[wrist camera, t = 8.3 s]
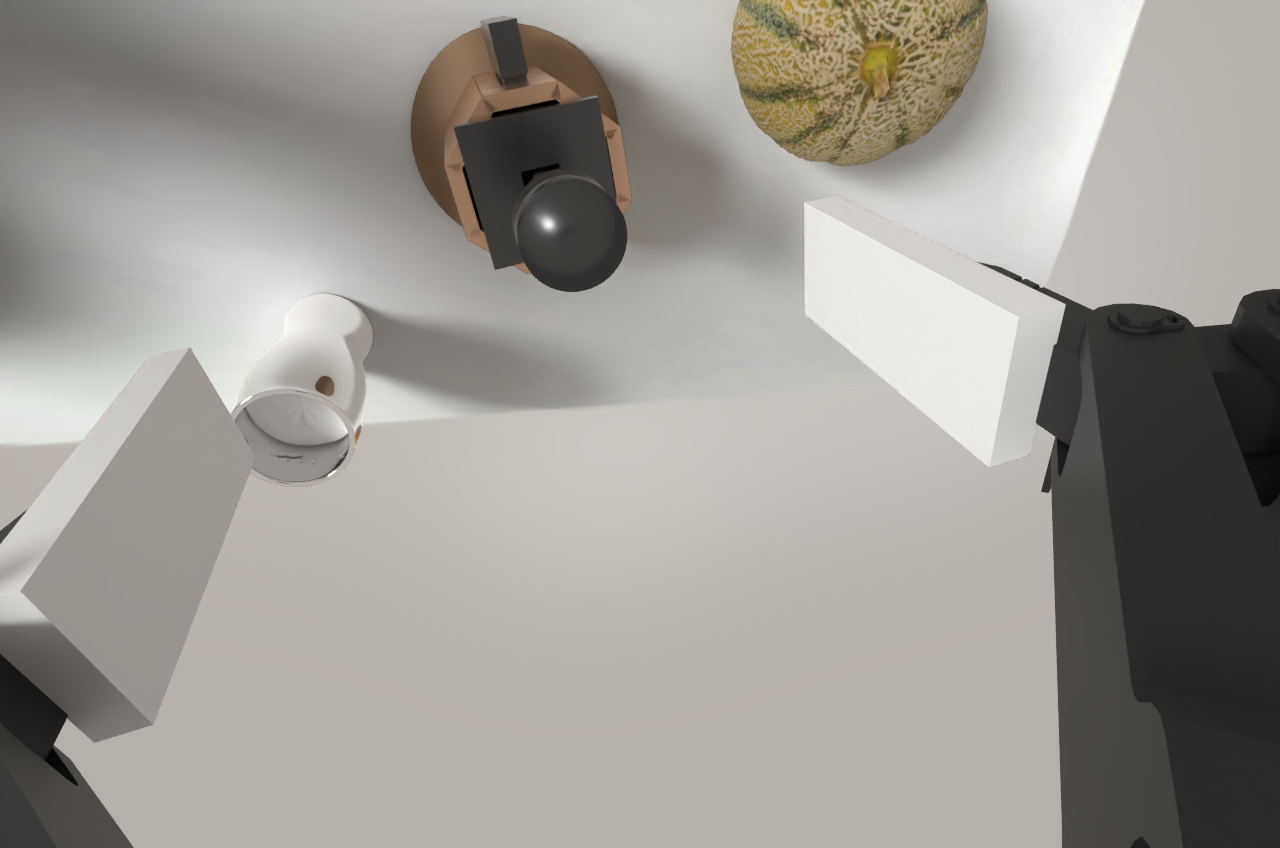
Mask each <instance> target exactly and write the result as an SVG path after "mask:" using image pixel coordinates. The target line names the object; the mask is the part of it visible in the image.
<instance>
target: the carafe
mask: <svg viewBox="0 0 1280 848" xmlns="http://www.w3.org/2000/svg"><path fill="white" fill-rule="evenodd" d="M480 23H481V27H482V31H483V35H484V39H485V43H486V46H487V50H488V54H489V58H490V62H491V66H492V68H493V69H494V70H493V71H488V72H484V73H479V74H474V75H473V76H474V77H473V76H471V78H470V80H469V82H468V84H467V86H466V88H465V89H464V91H463V93H462V95H461V96H460V98H459V100H458V101H457V104H456V106H455V108H454V110H453V112H452V114H451V116H450V118H449V120H448V122H447V124H446V125H445V127H444V167H445V170H446V173H447V176H448V180H449V183H450V186H451V189H452V193H453V196H454V199H455V202H456V205H457V209H458V212H459V215H460V218H461V222H462V225H463V228H464V231H465V235H466V238H468V240H469V241H471V242H473V243H474V244H476V245H478V246H480V247H481V248H483V249H485V250H487V251H488V252H490V254H491V257H492V261H493V264H494V268H495V270H496V269H500V268H504V267H508V266H514V267H516V268H518V269H520V270H521V271H523V272H525V273H527V274H528V273H529V274H532V273H531V272H530V271H529V270H528V268H527V267H526V265H525V263H524V261H523V259H522V256H521V253H520V250H519V247H518V244H517V241H516V237H515V234H514V230H513V211H514V206H515V203H516V200H517V198H518V196H519V194H520V193H521V191H522V190H523V188H524V184H523V180H522V176H521V171H526V170H530V169H535V168H539V167H544V166H548V165H553V164H558V168H559V169H572V170H576V171H580V172H582V173H585V174H587V175H588V176H590V177H592V178H593V179H594V180H595V181H597V182H598V183H599V184H600V185H601V186H602V188H603V189H604V190H605V191H606V192H607V193H608V194H609V195H610V197H611V198H612V199H613V200H614V201H615V202H616V204H617V205H618V207H619V208H620V210H621V212H622V214H624V212H625V211H626V209H627V208H628V206H629V205H630V203H631V200H632V197H631V191H630V184H629V178H628V172H627V166H626V159H625V153H624V147H623V141H622V134H621V128H620V127H619V126H618V125H617V124H616V123H614V122H613V121H612V120H610V119H609V118H608V117H606V116H605V115H604V114H602V113H601V109H600V103H599V97H598V96H596V95H594V96H590V97H585V98H581V97H580V96H579V95H577V94H576V93H575V92H573V91H572V90H571V89H569V88H568V87H567V86H565V85H564V84H563V83H561V82H560V81H559V80H557V79H556V78H554V77H552V76H551V75H549V74H548V73H546V72H545V71H543V70H541V69H540V68H538V67H537V66H535V65H534V64H531V63H528V64H526V59H525V55H524V50H523V46H522V41H521V37H520V32H519V28H518V23H517V19H516V18H512V17H506V16H502V17H497V18H492V19H486V20H481V21H480ZM535 103H541V104H543V105H544V106H542V107H538V108H533V109H528V110H523V111H519V112H514V113H509V114H505V115H500V116H495V117H491V115H492V113H493V112H497V111H502V110H506V109H511V108H516V107H521V106H525V105H530V104H535Z"/></svg>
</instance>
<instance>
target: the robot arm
mask: <svg viewBox="0 0 1280 848" xmlns="http://www.w3.org/2000/svg"><path fill="white" fill-rule="evenodd" d="M804 253H805V315H806V316H808V317H809V318H810V319H811V320H812V321H814V322H815V323H816V324H817V325H818V326H820V327H821V328H822V329H823V330H824V331H826V332H827V333H828V334H829V335H830V336H832V337H833V338H834V339H835V340H836V341H838V342H839V343H840V344H841V345H842V346H844V347H845V348H846V349H847V350H848V351H850V352H851V353H852V354H853V355H854V356H856V357H857V358H858V359H859V360H860V361H862V362H863V363H864V364H865V365H866V366H868V367H869V368H870V369H871V370H872V371H874V372H875V373H876V374H877V375H878V376H880V377H881V378H882V379H883V380H884V381H886V382H887V383H888V384H889V385H890V386H892V387H893V388H894V389H895V390H897V391H898V392H899V393H900V394H901V395H903V396H904V397H905V398H906V399H907V400H909V401H910V402H911V403H912V404H913V405H915V406H916V407H917V408H918V409H919V410H921V411H922V412H923V413H924V414H925V415H927V416H928V417H929V418H930V419H931V420H933V421H934V422H935V423H936V424H937V425H939V426H940V427H941V428H942V429H943V430H945V431H946V432H947V433H948V434H949V435H951V436H952V437H953V438H954V439H955V440H957V441H958V442H959V443H960V444H961V445H963V446H964V447H965V448H966V449H968V450H969V451H970V452H971V453H972V454H973V455H975V456H976V457H977V458H978V459H979V460H981V461H982V462H983V463H984V464H985V465H987V466H988V467H989V468H990V467H994V466H997V465H1000V464H1003V463H1007V462H1010V461H1013V460H1017V459H1020V458H1023V457H1026V456H1030V453H1031V449H1032V444H1033V440H1034V436H1035V432H1036V428H1037V424H1038V425H1039V426H1041V427H1043V428H1044V429H1045V430H1047V431H1048V432H1050V433H1051V434H1053V435H1054V436H1055V441H1054V444H1053V448H1052V452H1051V456H1050V460H1049V464H1048V467H1047V471H1046V475H1045V479H1044V483H1043V487H1042V491H1041V492H1046V493H1049V491H1050V489H1052V521H1053V550H1054V551H1053V553H1054V585H1055V614H1056V615H1055V616H1056V649H1057V681H1058V712H1059V743H1060V774H1061V808H1062V848H1280V289H1271V290H1263V291H1256V292H1253V293H1251V294H1248V295H1245V296H1243V298H1242V300H1241V301H1240V303H1239V306H1238V309H1237V311H1236V313H1235V316H1234V318H1233V321H1232V324H1227V325H1215V326H1202V327H1194V326H1193V325H1192V323H1191V322H1190V321H1189V320H1188V319H1187V318H1186V317H1184V316H1182V315H1179V314H1177V313H1176V312H1173V311H1171V310H1167V309H1163V308H1160V307H1156V306H1150V305H1141V304H1112V305H1108V306H1103V307H1098V308H1097V309H1095V310H1091V309H1089V308H1087V307H1085V306H1083V305H1081V304H1079V303H1076V302H1074V301H1072V300H1070V299H1068V298H1066V297H1064V296H1061V295H1059V294H1057V293H1055V292H1053V291H1051V290H1048V289H1046V288H1044V287H1043V288H1040V287H1039V285H1038V284H1036V283H1033V282H1031V281H1029V280H1027V279H1024V280H1022V277H1020V276H1018V275H1016V274H1014V273H1012V272H1010V271H1008V270H1005V269H1003V268H1001V267H997V266H993V265H988V264H984V263H979V262H976V261H973V260H971V259H969V258H967V257H965V256H963V255H961V254H959V253H957V252H954V251H952V250H950V249H948V248H946V247H944V246H942V245H940V244H938V243H936V242H933V241H931V240H929V239H927V238H925V237H923V236H921V235H919V234H917V233H915V232H912V231H910V230H908V229H906V228H904V227H902V226H900V225H898V224H896V223H893V222H891V221H889V220H887V219H885V218H883V217H881V216H879V215H877V214H875V213H872V212H870V211H868V210H866V209H864V208H862V207H860V206H858V205H856V204H854V203H851V202H849V201H847V200H845V199H843V198H841V197H839V196H837V195H833V196H829V197H825V198H821V199H816V200H812V201H808V202H804ZM255 458H256V457H255V455H254V453H253V452H252V450H251V448H250V447H249V445H248V443H247V442H246V440H245V438H244V437H243V435H242V433H241V432H240V430H239V428H238V427H237V425H236V423H235V422H234V420H233V418H232V417H231V415H230V413H229V412H228V410H227V408H226V407H225V405H224V403H223V402H222V400H221V398H220V397H219V395H218V393H217V392H216V390H215V388H214V387H213V385H212V383H211V382H210V380H209V378H208V377H207V375H206V373H205V372H204V370H203V368H202V367H201V365H200V363H199V362H198V360H197V358H196V356H195V355H194V353H193V351H192V350H191V348H190V347H188V348H184V349H180V350H176V351H171V352H167V353H163V354H159V355H154V356H150V357H148V359H147V360H146V361H145V362H144V364H143V365H142V366H141V367H140V369H139V370H138V371H137V372H136V374H135V375H134V376H133V377H132V379H131V380H130V381H129V382H128V384H127V385H126V386H125V388H124V389H123V390H122V391H121V393H120V394H119V395H118V396H117V398H116V399H115V400H114V401H113V403H112V404H111V405H110V406H109V408H108V409H107V410H106V412H105V413H104V414H103V415H102V417H101V418H100V419H99V420H98V422H97V423H96V424H95V425H94V427H93V428H92V429H91V430H90V432H89V433H88V434H87V436H86V437H85V438H84V439H83V441H82V442H81V443H80V444H79V446H78V447H77V448H76V449H75V451H74V452H73V453H72V455H71V456H70V457H69V458H68V459H67V461H66V462H65V463H64V465H63V466H62V467H61V468H60V470H59V471H58V472H57V473H56V475H55V476H54V477H53V478H52V480H51V481H50V482H49V484H48V485H47V486H46V487H45V489H44V490H43V491H42V492H41V494H40V495H39V496H38V497H37V499H36V500H35V501H34V502H33V504H32V505H31V506H30V507H29V509H27V510H26V511H25V512H24V513H22V514H21V515H20V516H19V517H17V518H16V519H15V520H14V521H12V522H11V523H10V524H9V525H7V526H6V527H5V528H3V529H2V530H1V531H0V848H133V846H132V845H131V844H130V842H129V840H128V839H127V838H126V836H125V835H124V834H123V832H122V831H121V829H120V828H119V827H118V825H117V824H116V822H115V821H114V819H113V818H112V817H111V815H110V814H109V813H108V811H107V810H106V808H105V807H104V806H103V804H102V803H101V801H100V800H99V799H98V797H97V796H96V794H95V793H94V792H93V790H92V789H91V788H90V786H89V785H88V783H87V782H86V781H85V779H84V778H83V776H82V775H81V773H80V772H79V771H78V769H77V768H76V767H75V765H74V764H73V762H72V761H71V760H70V759H69V758H68V757H67V756H66V755H65V754H63V753H62V752H61V751H60V750H59V749H57V748H56V747H55V746H54V742H55V741H56V738H57V737H58V735H59V733H60V731H61V729H62V727H63V725H64V723H65V721H66V719H69V720H70V721H71V722H72V723H73V724H74V725H75V726H76V727H78V728H79V729H80V730H81V731H82V732H83V733H84V734H85V735H86V736H87V737H89V738H90V739H91V740H92V741H93V742H94V743H95V742H99V741H102V740H105V739H108V738H112V737H115V736H118V735H121V734H124V733H128V732H131V731H134V730H137V729H141V728H144V727H147V726H151V725H153V724H154V721H155V719H156V716H157V714H158V711H159V708H160V706H161V703H162V701H163V698H164V695H165V693H166V690H167V687H168V685H169V682H170V679H171V677H172V675H173V672H174V669H175V667H176V664H177V661H178V659H179V656H180V654H181V651H182V648H183V646H184V643H185V641H186V638H187V635H188V633H189V630H190V627H191V625H192V622H193V620H194V617H195V614H196V612H197V609H198V606H199V604H200V601H201V599H202V596H203V594H204V591H205V588H206V586H207V583H208V580H209V578H210V575H211V572H212V570H213V567H214V565H215V562H216V560H217V557H218V554H219V552H220V549H221V547H222V544H223V541H224V539H225V536H226V533H227V531H228V528H229V526H230V523H231V520H232V518H233V515H234V512H235V510H236V507H237V505H238V502H239V499H240V497H241V494H242V491H243V489H244V486H245V484H246V481H247V479H248V476H249V473H250V471H251V468H252V466H253V463H254V460H255Z"/></svg>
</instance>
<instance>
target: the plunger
mask: <svg viewBox="0 0 1280 848" xmlns="http://www.w3.org/2000/svg"><path fill="white" fill-rule="evenodd" d="M542 106H544V105H543V104H541V103H535V104H530V105H525V106H521V107H516V108H511V109H506V110H502V111H497V112H493V113H492V115H491V117H495V116H500V115H505V114H509V113H514V112H519V111H523V110H528V109H533V108H538V107H542ZM521 176H522V180H523V184H524V188H523V190H522V191H521V193H520V194H519V196H518V198H517V200H516V203H515V206H514V211H513V230H514V234H515V237H516V241H517V244H518V247H519V250H520V253H521V256H522V259H523V261H524V263H525V265H526V267H527V268H528V270H529V271H530V272H531V273H532V275H533V276H534V277H535V278H537V279H538V280H539V281H540V282H542V283H543V284H545V285H547V286H549V287H551V288H553V289H556V290H560V291H566V292H578V291H584V290H587V289H591V288H593V287H595V286H597V285H599V284H601V283H602V282H604V281H605V280H606V279H608V278H609V277H610V276H611V275H612V274H613V273H614V271H615V270H616V269H617V267H618V266H619V264H620V262H621V261H622V258H623V256H624V253H625V250H626V244H627V227H626V223H625V219H624V216H623V214H622V212H621V210H620V208H619V207H618V205H617V204H616V202H615V201H614V200H613V199H612V198H611V197H610V195H609V194H608V193H607V192H606V191H605V190H604V189H603V188H602V186H601V185H600V184H599V183H598V182H597V181H595V180H594V179H593V178H592V177H590V176H588V175H587V174H585V173H582V172H580V171H576V170H572V169H559V168H558V164H553V165H548V166H544V167H539V168H535V169H530V170H526V171H521Z"/></svg>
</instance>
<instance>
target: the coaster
mask: <svg viewBox="0 0 1280 848" xmlns="http://www.w3.org/2000/svg"><path fill="white" fill-rule="evenodd" d="M518 28H519V32H520V37H521V41H522V46H523V50H524V55H525V59H526V64H528V63H531V64H534V65H535V66H537V67H538V68H540V69H541V70H543V71H545V72H546V73H548V74H549V75H551V76H552V77H554V78H556V79H557V80H559V81H560V82H561V83H563V84H564V85H565V86H567V87H568V88H569V89H571V90H572V91H573V92H575V93H576V94H577V95H579V96H580V97H581V98H585V97H590V96H594V95H596V96H598V97H599V103H600V109H601V113H602V114H604V115H605V116H606V117H608V118H609V119H610V120H612V121H613V122H614V123H616V124H617V125H618V119H617V114H616V110H615V106H614V103H613V101H612V98H611V95H610V93H609V91H608V89H607V87H606V85H605V83H604V81H603V79H602V78H601V76H600V74H599V73H598V71H597V70H596V68H595V67H594V66H593V65H592V64H591V63H590V61H589V60H588V59H587V58H586V57H585V56H584V55H583V54H582V53H581V52H580V51H579V50H578V49H576V48H575V47H574V46H573V45H571V44H570V43H568V42H567V41H565V40H564V39H563V38H561V37H559V36H557V35H555V34H553V33H551V32H549V31H546V30H543V29H540V28H537V27H534V26H529V25H523V24H518ZM493 70H494V69H493V68H492V66H491V62H490V58H489V54H488V50H487V46H486V43H485V39H484V35H483V31H482V27H481V28H477V29H474V30H472V31H470V32H468V33H466V34H463V35H462V36H460V37H459V38H457V39H456V40H454V41H453V42H451V43H450V44H449V45H448V46H447V47H445V48H444V49H443V50H442V51H441V52H440V53H439V54H438V55H437V57H436V58H435V59H434V60H433V61H432V63H431V64H430V66H429V67H428V69H427V71H426V72H425V74H424V76H423V78H422V80H421V82H420V85H419V87H418V90H417V93H416V96H415V100H414V104H413V110H412V118H411V138H412V145H413V152H414V156H415V160H416V163H417V167H418V169H419V172H420V174H421V177H422V179H423V181H424V183H425V185H426V186H427V188H428V190H429V192H430V193H431V195H432V196H433V197H434V199H435V200H436V202H437V203H438V204H439V205H440V207H441V208H442V209H443V210H444V211H445V212H446V213H447V214H448V215H449V216H450V217H451V218H453V219H454V220H455V221H456V222H457V223H458V224H460V225H461V226H463V225H462V222H461V218H460V215H459V212H458V209H457V205H456V202H455V199H454V196H453V193H452V189H451V186H450V183H449V180H448V176H447V173H446V170H445V167H444V127H445V125H446V124H447V122H448V120H449V118H450V116H451V114H452V112H453V110H454V108H455V106H456V104H457V101H458V100H459V98H460V96H461V95H462V93H463V91H464V89H465V88H466V86H467V84H468V82H469V80H470V78H471V76H473V75H474V74H479V73H484V72H488V71H493ZM473 77H474V76H473ZM618 126H619V125H618Z"/></svg>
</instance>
